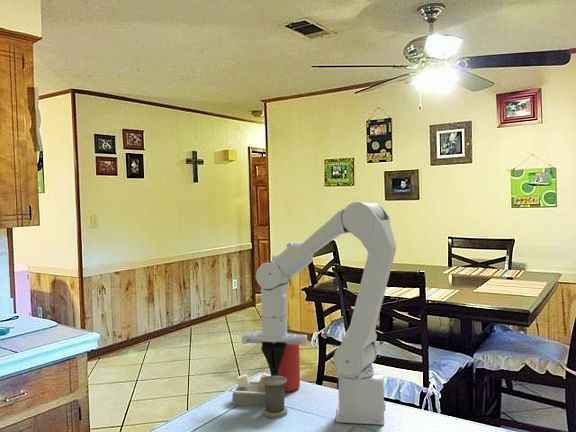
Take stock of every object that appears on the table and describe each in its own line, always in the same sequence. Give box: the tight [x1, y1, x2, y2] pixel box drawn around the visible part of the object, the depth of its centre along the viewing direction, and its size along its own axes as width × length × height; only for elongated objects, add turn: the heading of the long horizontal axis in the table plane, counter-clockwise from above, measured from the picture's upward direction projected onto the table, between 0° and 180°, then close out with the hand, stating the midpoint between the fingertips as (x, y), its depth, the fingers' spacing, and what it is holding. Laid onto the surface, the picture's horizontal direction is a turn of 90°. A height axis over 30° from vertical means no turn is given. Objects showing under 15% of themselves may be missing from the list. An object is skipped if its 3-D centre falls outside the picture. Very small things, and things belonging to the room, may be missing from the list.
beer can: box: [278, 344, 301, 393], centre depth 118 cm, size 7×7×12 cm
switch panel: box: [232, 380, 265, 408], centre depth 112 cm, size 8×8×3 cm
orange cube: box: [259, 374, 268, 387], centre depth 111 cm, size 2×2×2 cm
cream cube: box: [236, 373, 251, 387], centre depth 112 cm, size 2×2×2 cm
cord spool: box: [262, 375, 288, 419], centre depth 104 cm, size 5×5×7 cm
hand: (275, 375), depth 111 cm, fingers closed
